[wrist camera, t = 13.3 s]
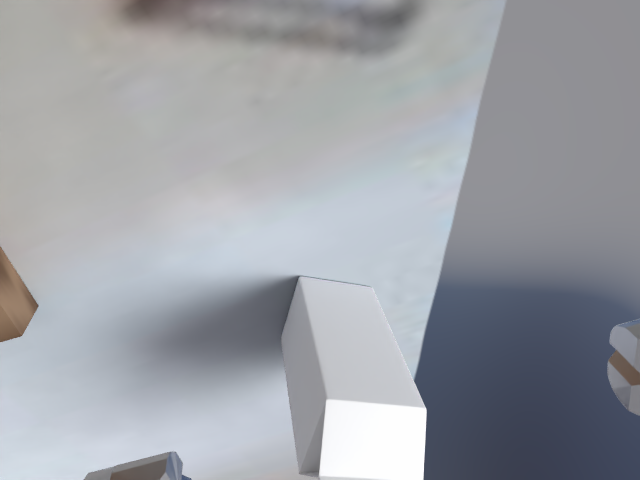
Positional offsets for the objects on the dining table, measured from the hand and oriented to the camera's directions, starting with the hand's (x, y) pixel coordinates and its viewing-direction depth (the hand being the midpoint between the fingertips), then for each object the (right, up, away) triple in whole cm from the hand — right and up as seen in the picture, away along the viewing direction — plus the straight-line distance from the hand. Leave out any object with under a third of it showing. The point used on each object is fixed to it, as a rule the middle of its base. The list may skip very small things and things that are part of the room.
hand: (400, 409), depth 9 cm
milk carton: (-1, -4, +39) cm, 39 cm away
